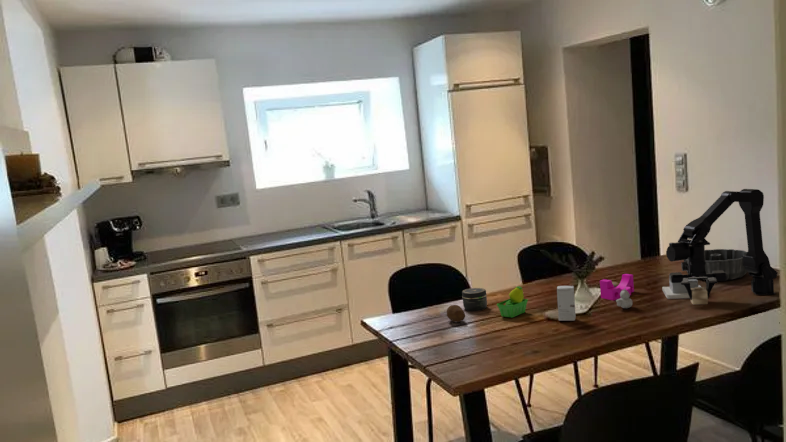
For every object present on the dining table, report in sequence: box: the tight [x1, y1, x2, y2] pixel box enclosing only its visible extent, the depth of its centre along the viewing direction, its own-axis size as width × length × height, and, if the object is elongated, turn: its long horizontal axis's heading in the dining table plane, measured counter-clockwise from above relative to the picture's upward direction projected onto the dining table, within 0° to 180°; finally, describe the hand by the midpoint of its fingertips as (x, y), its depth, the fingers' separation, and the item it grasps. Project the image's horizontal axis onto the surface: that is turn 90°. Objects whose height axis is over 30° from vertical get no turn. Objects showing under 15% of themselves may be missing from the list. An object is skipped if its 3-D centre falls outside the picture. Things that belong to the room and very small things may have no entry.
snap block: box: [690, 286, 709, 305], centre depth 231 cm, size 5×5×6 cm
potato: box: [446, 304, 466, 323], centre depth 243 cm, size 7×10×6 cm
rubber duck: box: [615, 289, 633, 309], centre depth 235 cm, size 5×7×8 cm
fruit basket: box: [496, 285, 529, 319], centre depth 243 cm, size 11×9×11 cm
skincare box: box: [556, 285, 577, 322], centre depth 228 cm, size 6×4×12 cm
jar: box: [461, 287, 488, 312], centre depth 258 cm, size 10×10×8 cm
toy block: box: [599, 273, 635, 301], centre depth 253 cm, size 15×6×8 cm, turn 119°
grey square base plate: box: [661, 278, 703, 300], centre depth 245 cm, size 14×14×6 cm
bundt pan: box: [683, 248, 748, 282], centre depth 266 cm, size 26×26×10 cm
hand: (699, 299), depth 231 cm, fingers closed on snap block, 5 cm apart
